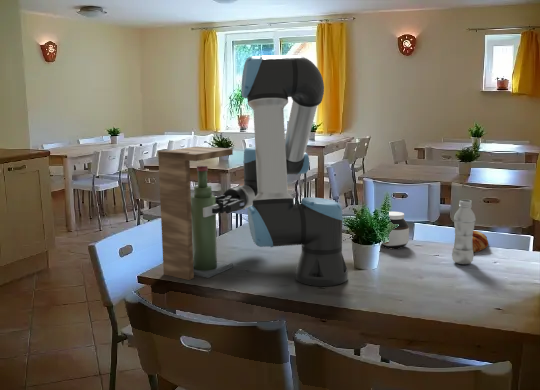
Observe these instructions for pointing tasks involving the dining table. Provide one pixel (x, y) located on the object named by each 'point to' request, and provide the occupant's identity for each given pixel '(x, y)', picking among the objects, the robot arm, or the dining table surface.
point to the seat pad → (213, 272)
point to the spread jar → (398, 232)
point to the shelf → (179, 206)
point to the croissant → (479, 241)
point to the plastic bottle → (463, 233)
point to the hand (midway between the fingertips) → (192, 211)
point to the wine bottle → (203, 225)
